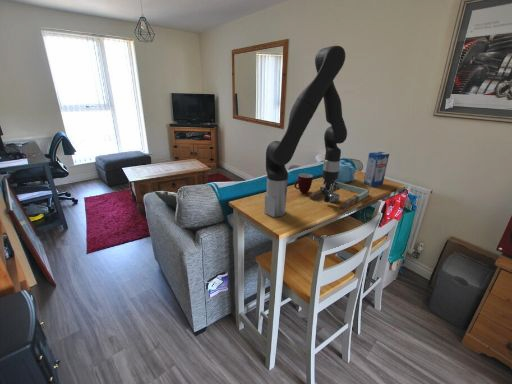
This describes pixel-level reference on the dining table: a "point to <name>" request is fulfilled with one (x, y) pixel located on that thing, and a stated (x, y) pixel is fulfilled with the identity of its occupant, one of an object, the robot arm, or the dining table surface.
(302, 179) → the mug
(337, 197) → the chip puck
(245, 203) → the dining table surface
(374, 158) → the milk carton
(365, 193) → the corral
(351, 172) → the decorative pot
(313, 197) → the slot rails
